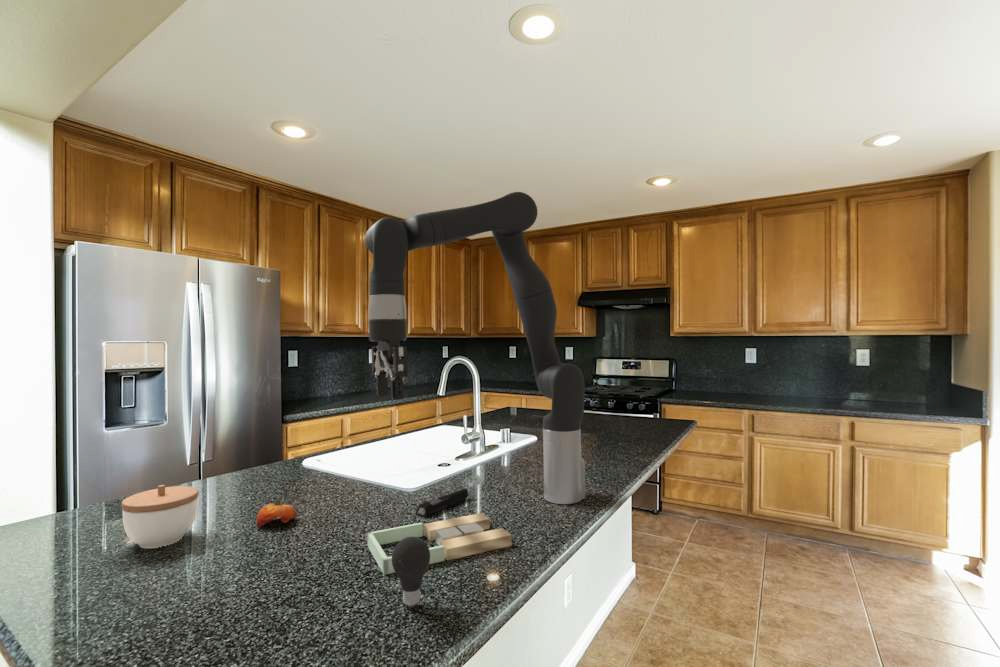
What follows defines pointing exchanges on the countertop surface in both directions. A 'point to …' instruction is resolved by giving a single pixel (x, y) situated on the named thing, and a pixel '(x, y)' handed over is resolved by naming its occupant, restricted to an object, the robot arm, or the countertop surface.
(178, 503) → the lidded bowl
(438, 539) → the metal chip
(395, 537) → the box
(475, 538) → the slot rails
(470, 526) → the metal chip
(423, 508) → the electric trimmer
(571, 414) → the robot arm
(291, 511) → the tomato
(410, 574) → the light bulb
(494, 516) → the countertop surface
